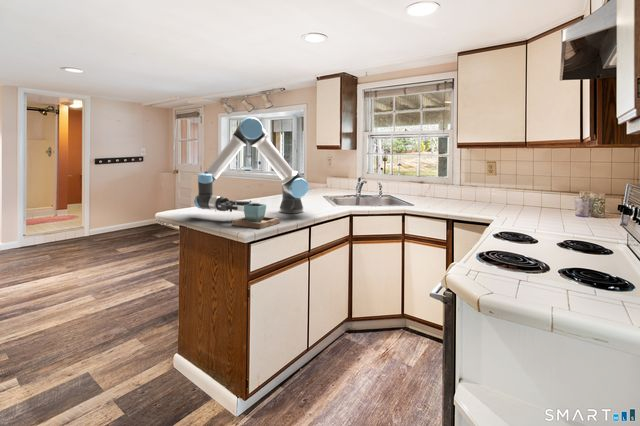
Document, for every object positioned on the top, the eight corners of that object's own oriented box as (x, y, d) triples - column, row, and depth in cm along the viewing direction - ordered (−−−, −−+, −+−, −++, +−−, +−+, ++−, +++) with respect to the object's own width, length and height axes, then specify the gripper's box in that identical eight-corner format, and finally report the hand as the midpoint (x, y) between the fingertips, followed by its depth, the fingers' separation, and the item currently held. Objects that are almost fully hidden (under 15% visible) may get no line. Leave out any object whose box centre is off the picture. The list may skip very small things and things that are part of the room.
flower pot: (266, 221, 183) (266, 204, 182) (258, 224, 175) (258, 206, 174) (251, 220, 186) (251, 203, 185) (243, 222, 178) (242, 205, 176)
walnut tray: (253, 219, 192) (253, 215, 192) (279, 223, 185) (279, 218, 184) (232, 224, 177) (232, 220, 177) (260, 228, 170) (260, 223, 169)
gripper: (234, 207, 201) (265, 211, 192) (202, 213, 179) (236, 217, 170) (234, 194, 200) (265, 197, 191) (202, 199, 178) (235, 202, 169)
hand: (251, 207), depth 180 cm, fingers open, 13 cm apart
